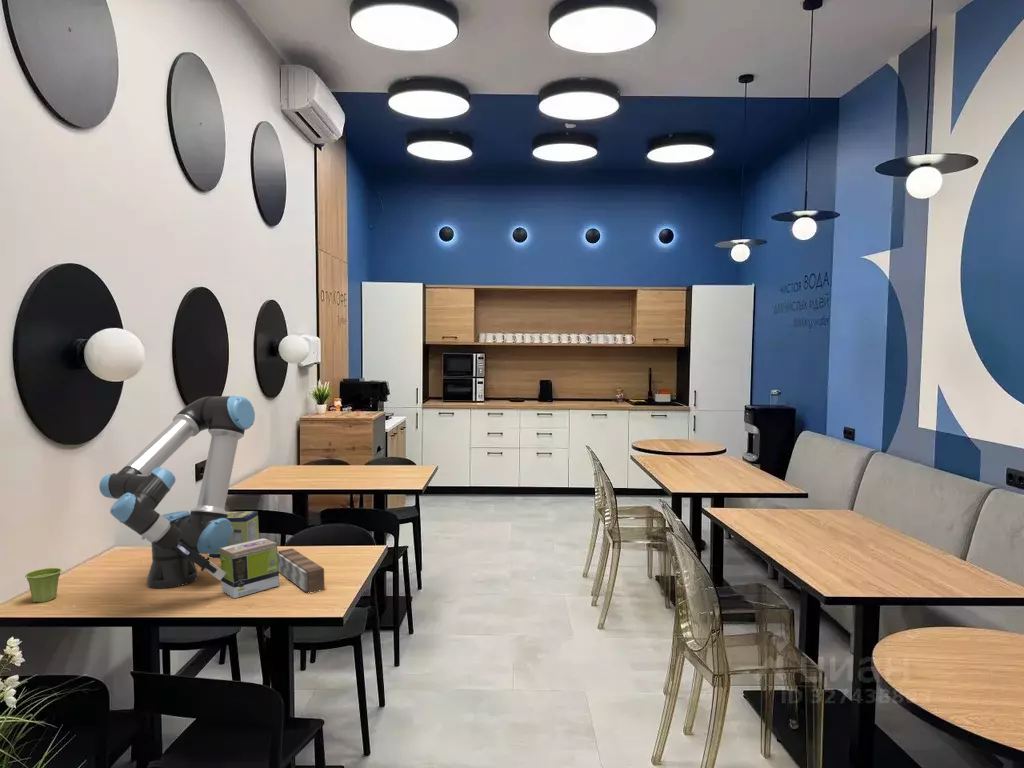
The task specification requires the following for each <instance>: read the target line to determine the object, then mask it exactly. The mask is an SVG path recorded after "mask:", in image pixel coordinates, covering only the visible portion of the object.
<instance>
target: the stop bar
mask: <svg viewBox="0 0 1024 768" xmlns="http://www.w3.org/2000/svg"><path fill="white" fill-rule="evenodd" d="M277 551H278V568H279V574H282V575H283V576H284V577H286V578H287V579H288V580H290V581H291V582H292V583H293V584H294V585H296V586H297V587H299V588H300V589H301V590H302V591H304V592H305V593H308V592H309V593H310V592H314V591H318V592H320V591H319V590H322V591H325V567H323V566H320V565H319V564H318V563H316V562H314V560H311V559H310V558H308V557H306V556H305V555H303V554H302V553H300V552H298V551H297V550H295V549H294V548H288V549H282V550H277ZM307 591H308V592H307ZM309 593H308V594H309ZM314 593H315V592H314ZM310 594H311V593H310Z"/></svg>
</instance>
